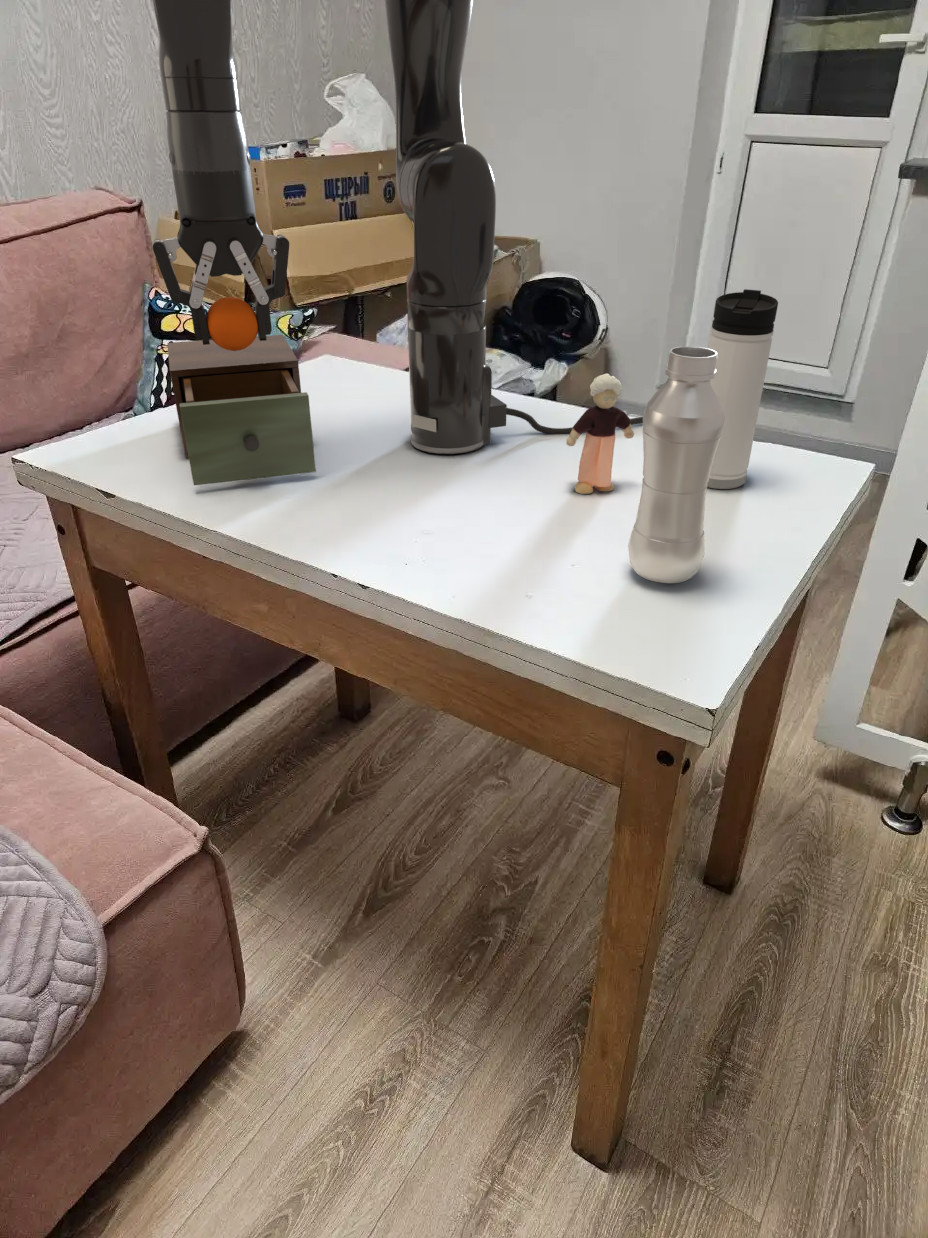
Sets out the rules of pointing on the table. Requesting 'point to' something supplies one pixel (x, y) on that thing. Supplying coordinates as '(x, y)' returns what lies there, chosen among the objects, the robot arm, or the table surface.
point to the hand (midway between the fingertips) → (234, 340)
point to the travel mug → (739, 377)
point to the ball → (232, 323)
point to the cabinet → (226, 363)
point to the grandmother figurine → (599, 435)
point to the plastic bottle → (677, 468)
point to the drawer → (246, 426)
